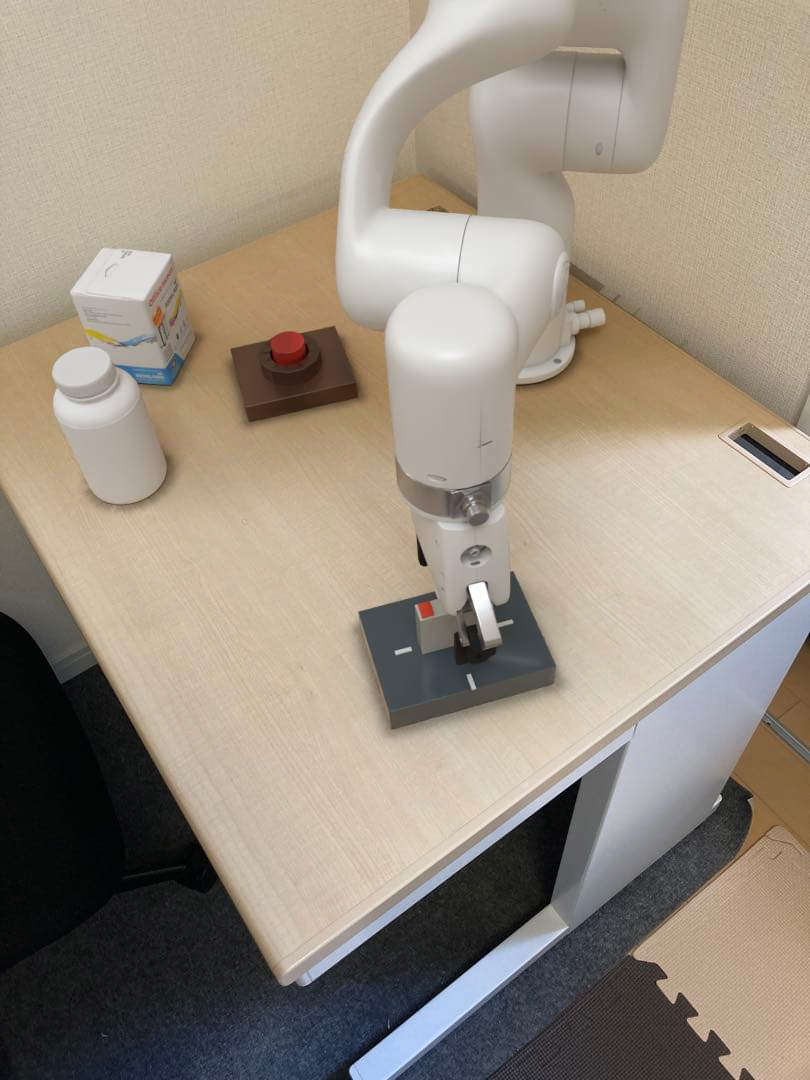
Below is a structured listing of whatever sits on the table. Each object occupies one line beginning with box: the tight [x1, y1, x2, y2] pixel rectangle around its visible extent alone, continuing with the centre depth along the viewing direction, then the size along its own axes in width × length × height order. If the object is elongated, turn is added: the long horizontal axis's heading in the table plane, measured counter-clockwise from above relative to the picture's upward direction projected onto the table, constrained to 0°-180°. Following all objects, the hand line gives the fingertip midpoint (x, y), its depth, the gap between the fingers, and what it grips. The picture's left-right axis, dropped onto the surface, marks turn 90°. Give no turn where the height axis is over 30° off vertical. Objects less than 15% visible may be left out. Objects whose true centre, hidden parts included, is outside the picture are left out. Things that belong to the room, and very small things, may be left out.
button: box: [271, 330, 306, 365], centre depth 97 cm, size 4×4×2 cm
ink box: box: [69, 247, 196, 386], centre depth 99 cm, size 9×8×12 cm
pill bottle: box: [51, 346, 168, 505], centre depth 87 cm, size 8×8×15 cm
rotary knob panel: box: [357, 570, 557, 731], centre depth 76 cm, size 14×10×3 cm
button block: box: [230, 325, 359, 423], centre depth 99 cm, size 12×10×4 cm
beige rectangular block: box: [415, 592, 493, 654], centre depth 73 cm, size 6×2×5 cm, turn 106°
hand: (455, 606), depth 73 cm, fingers open, 9 cm apart
